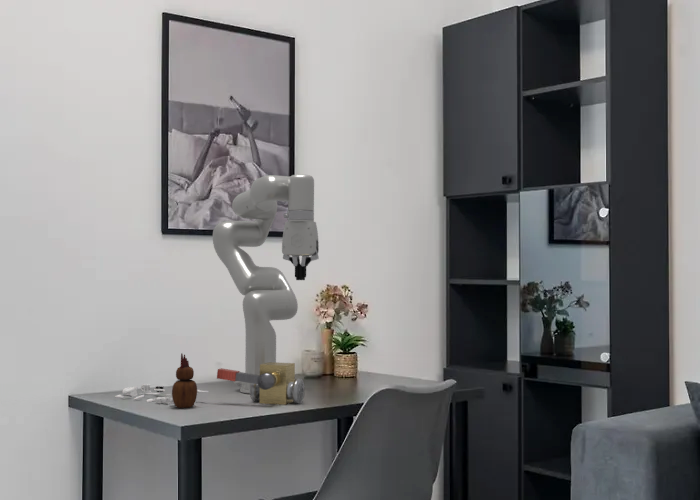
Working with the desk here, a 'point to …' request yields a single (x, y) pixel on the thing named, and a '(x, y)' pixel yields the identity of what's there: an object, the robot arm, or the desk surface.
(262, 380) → the lever
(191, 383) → the wooden figurine
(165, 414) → the desk surface
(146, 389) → the miniature set
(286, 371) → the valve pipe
